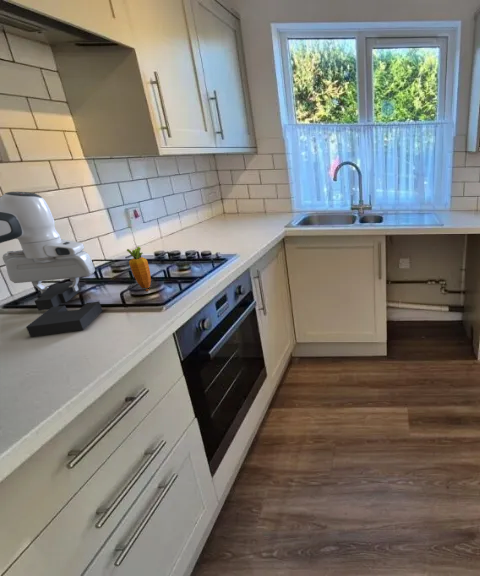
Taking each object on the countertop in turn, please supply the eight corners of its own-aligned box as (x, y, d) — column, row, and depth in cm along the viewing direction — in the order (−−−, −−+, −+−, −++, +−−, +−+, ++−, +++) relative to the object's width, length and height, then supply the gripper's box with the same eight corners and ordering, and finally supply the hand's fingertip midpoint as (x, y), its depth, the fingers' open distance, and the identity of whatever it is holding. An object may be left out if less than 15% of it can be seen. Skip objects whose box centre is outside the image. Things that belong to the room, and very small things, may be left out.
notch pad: (30, 337, 92) (25, 326, 90) (55, 316, 102) (51, 306, 101) (83, 330, 94) (79, 320, 93) (102, 310, 105) (99, 301, 104)
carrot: (134, 293, 116) (120, 248, 110) (148, 287, 121) (135, 244, 115) (146, 295, 115) (132, 250, 109) (159, 289, 119) (146, 245, 113)
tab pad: (33, 311, 102) (29, 301, 101) (59, 292, 115) (56, 283, 113) (58, 308, 104) (55, 298, 102) (81, 290, 116) (78, 281, 115)
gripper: (-8, 255, 99) (12, 300, 105) (79, 248, 105) (94, 292, 110) (7, 248, 105) (26, 292, 110) (89, 243, 110) (103, 284, 116)
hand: (60, 292), depth 110 cm, fingers closed on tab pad, 6 cm apart
